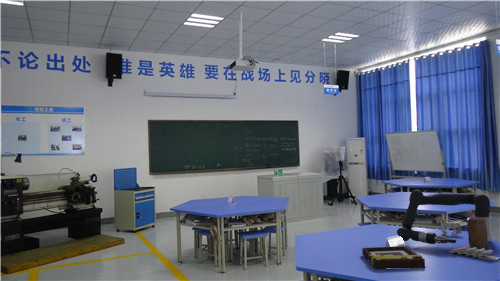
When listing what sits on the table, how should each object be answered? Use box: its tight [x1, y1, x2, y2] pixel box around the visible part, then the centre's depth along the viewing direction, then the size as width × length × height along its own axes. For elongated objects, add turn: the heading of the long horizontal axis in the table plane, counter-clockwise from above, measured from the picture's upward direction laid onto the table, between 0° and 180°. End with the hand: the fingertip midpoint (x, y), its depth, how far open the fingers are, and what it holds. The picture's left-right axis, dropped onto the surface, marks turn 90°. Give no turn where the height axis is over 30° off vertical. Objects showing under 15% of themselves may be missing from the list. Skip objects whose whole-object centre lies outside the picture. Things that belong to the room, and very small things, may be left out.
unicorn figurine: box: [432, 216, 463, 236], centre depth 276 cm, size 7×20×13 cm, turn 70°
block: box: [466, 216, 489, 250], centre depth 240 cm, size 11×8×20 cm
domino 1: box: [449, 245, 470, 254], centre depth 228 cm, size 2×5×10 cm
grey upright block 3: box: [464, 248, 487, 257], centre depth 221 cm, size 2×5×10 cm
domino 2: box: [456, 247, 478, 256], centre depth 225 cm, size 2×5×10 cm
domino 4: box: [477, 255, 500, 262], centre depth 216 cm, size 2×5×10 cm
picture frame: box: [361, 245, 426, 270], centre depth 221 cm, size 28×7×30 cm
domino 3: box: [472, 249, 494, 258], centre depth 218 cm, size 2×5×10 cm
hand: (455, 241), depth 230 cm, fingers closed
